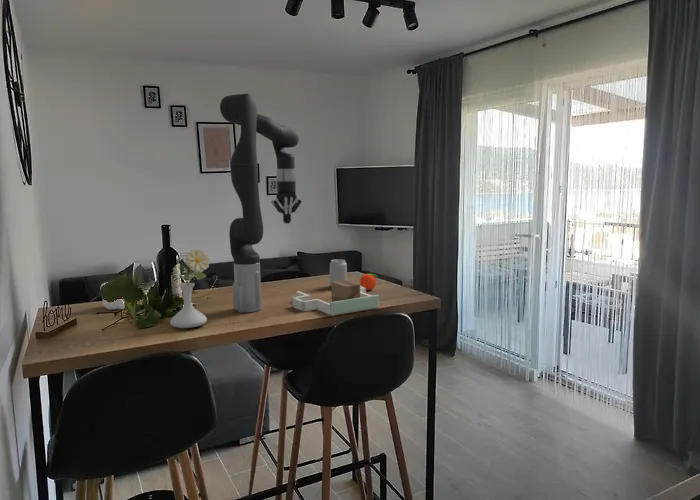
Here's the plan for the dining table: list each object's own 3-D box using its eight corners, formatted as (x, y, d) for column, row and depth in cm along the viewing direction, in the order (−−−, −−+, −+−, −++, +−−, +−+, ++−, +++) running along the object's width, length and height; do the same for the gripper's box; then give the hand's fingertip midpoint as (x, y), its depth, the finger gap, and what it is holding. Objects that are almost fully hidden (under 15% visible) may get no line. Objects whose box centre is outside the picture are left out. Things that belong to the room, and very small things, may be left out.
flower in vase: (171, 333, 155) (167, 253, 152) (169, 323, 165) (164, 248, 162) (214, 328, 160) (211, 250, 157) (209, 319, 171) (206, 246, 167)
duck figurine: (106, 311, 189) (85, 291, 183) (121, 297, 193) (101, 276, 186) (120, 317, 181) (98, 296, 175) (135, 302, 185) (115, 281, 178)
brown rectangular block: (346, 311, 180) (346, 286, 179) (331, 305, 188) (331, 281, 187) (360, 308, 183) (360, 284, 182) (345, 303, 191) (345, 280, 190)
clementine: (379, 288, 217) (379, 272, 216) (378, 291, 210) (378, 275, 209) (360, 287, 218) (360, 271, 217) (359, 291, 211) (359, 274, 210)
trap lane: (317, 318, 171) (316, 305, 170) (283, 302, 193) (282, 290, 192) (391, 305, 188) (391, 293, 187) (352, 291, 210) (352, 281, 209)
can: (350, 286, 220) (350, 259, 218) (338, 289, 214) (338, 262, 213) (338, 284, 225) (338, 258, 223) (326, 287, 219) (325, 260, 218)
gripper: (274, 180, 196) (276, 224, 198) (305, 180, 203) (305, 223, 205) (267, 180, 202) (268, 223, 204) (296, 180, 209) (297, 221, 211)
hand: (287, 223), depth 205 cm, fingers closed
